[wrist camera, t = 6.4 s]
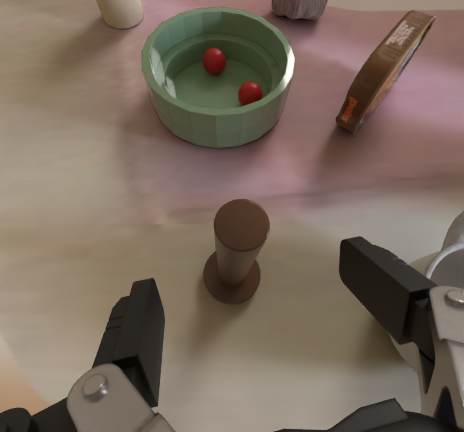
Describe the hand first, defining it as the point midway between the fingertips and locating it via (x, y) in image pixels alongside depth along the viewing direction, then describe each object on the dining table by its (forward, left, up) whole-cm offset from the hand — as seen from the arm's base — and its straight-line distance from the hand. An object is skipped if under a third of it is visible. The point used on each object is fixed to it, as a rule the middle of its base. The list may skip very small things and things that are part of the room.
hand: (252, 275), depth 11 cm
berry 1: (-9, -25, -11) cm, 29 cm away
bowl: (-8, -22, -13) cm, 27 cm away
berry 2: (-11, -19, -11) cm, 25 cm away
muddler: (0, -2, -13) cm, 13 cm away
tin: (-24, -14, -13) cm, 31 cm away
